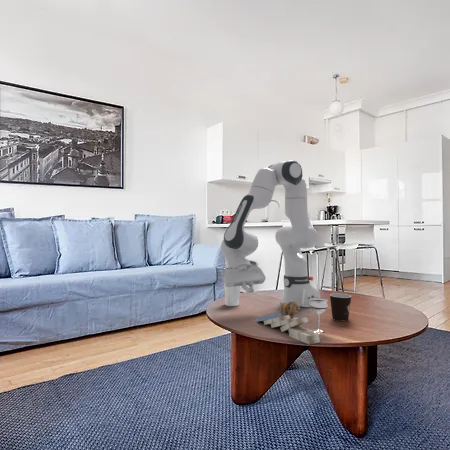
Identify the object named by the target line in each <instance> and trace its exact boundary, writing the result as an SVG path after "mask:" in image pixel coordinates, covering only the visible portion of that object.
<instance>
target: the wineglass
mask: <svg viewBox="0 0 450 450" xmlns="http://www.w3.org/2000/svg"><path fill="white" fill-rule="evenodd" d="M310 300H311V301H310V307H309V308H310V310H311V311H312V312H314V313H315V314H316V315H317V328H316V329H311V331H313V332H324V331H325V330H324V331H323V329H322V328H321V329H320V317H321V314H323V313H325V312H326V311H327V310H328V308H329V303H328V302H329V299H327V298H324V297H320V298H318V297H315V298H310Z"/></svg>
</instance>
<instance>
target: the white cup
mask: <svg viewBox="0 0 450 450" xmlns="http://www.w3.org/2000/svg"><path fill="white" fill-rule="evenodd" d="M223 285H224V287H223V288H224V304H225V306H227V307H238V306H239V305H240V295H241V286H235V287H226V286H225V284H224V283H223Z"/></svg>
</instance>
